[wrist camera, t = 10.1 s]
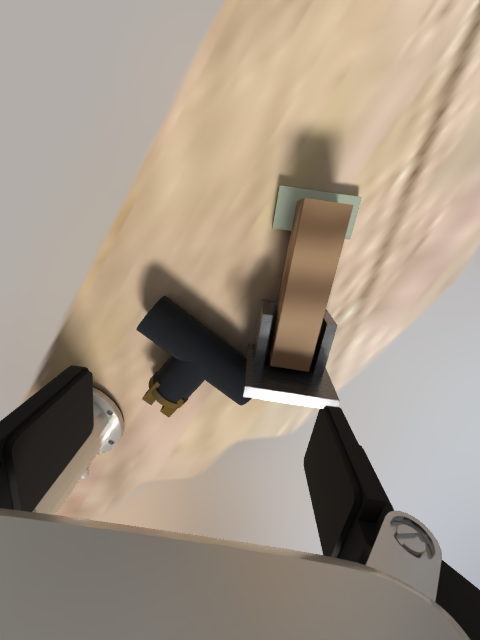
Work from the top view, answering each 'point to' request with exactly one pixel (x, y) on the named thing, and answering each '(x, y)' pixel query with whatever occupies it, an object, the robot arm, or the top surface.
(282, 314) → the walnut rail
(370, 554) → the robot arm
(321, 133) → the top surface
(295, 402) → the grey metal bracket
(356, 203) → the pad
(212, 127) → the top surface
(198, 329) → the pipe connector
